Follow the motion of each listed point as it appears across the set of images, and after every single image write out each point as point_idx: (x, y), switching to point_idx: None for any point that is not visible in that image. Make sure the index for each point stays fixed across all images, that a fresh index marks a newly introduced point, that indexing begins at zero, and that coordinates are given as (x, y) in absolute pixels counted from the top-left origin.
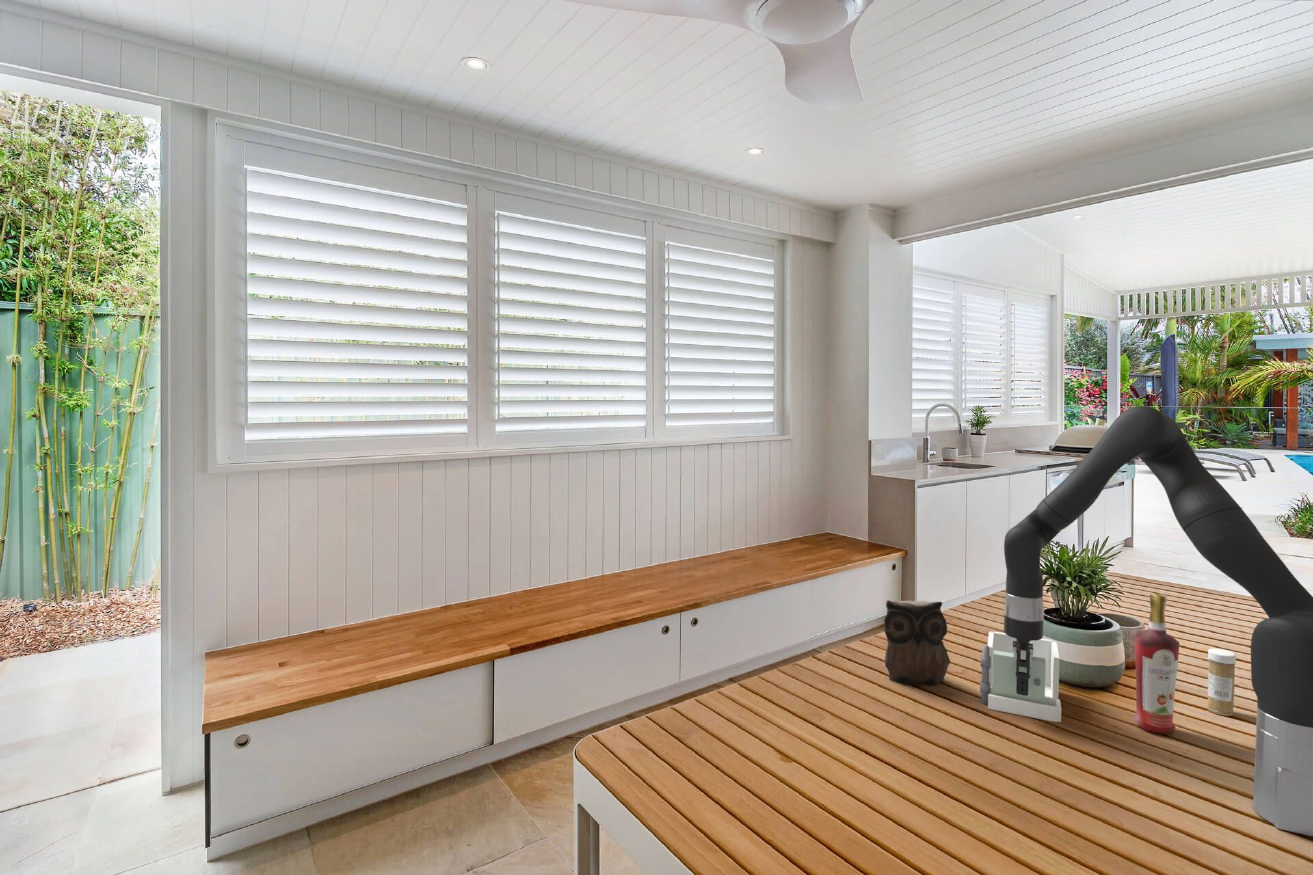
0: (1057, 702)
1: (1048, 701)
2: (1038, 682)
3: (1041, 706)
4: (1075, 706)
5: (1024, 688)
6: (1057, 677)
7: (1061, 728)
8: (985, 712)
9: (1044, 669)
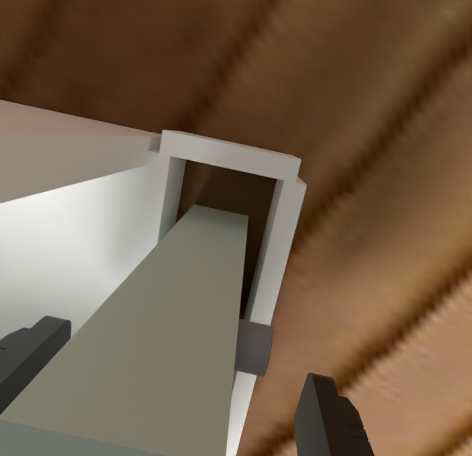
0: (214, 158)
1: (170, 190)
2: (270, 346)
3: (287, 258)
4: (63, 19)
5: (360, 438)
6: (81, 148)
7: (359, 171)
8: (275, 430)
9: (231, 378)
